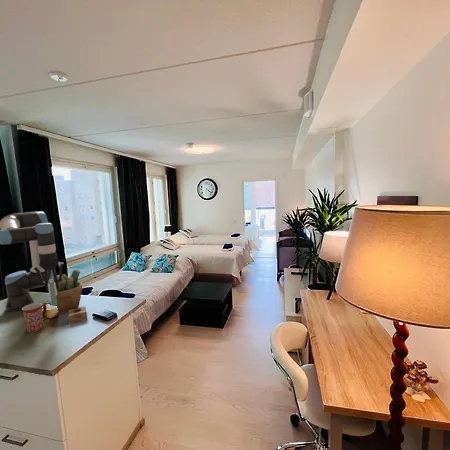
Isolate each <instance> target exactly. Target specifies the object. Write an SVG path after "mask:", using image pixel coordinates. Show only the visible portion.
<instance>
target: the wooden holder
mask: <svg viewBox="0 0 450 450" xmlns="http://www.w3.org/2000/svg"><path fill="white" fill-rule="evenodd" d="M87 320H88V314H87V307H86V305H85V306H79V307H78V308H76V309H72V310H69V313H68V322H69V323H68V324H69V325H72V324H76V323H80V322H85V321H87Z"/></svg>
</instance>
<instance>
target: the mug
mask: <svg viewBox="0 0 450 450" xmlns="http://www.w3.org/2000/svg"><path fill="white" fill-rule="evenodd" d="M21 311H22V313H23V318H24V322H25V326H26V331H27V332H28V333H36V332H38V331H41V330H43V328H44V319H45V316H46V313H47V305H46V304H45V303H41V302H34V303H33V304H29V305H27V306H25V307H23V308H22V309H21Z"/></svg>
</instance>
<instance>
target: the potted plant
mask: <svg viewBox="0 0 450 450" xmlns="http://www.w3.org/2000/svg"><path fill="white" fill-rule="evenodd" d="M80 273H81V270H78V269H74V270H72V272H71V275H70V276H69V277H68V275H66V274H65V273H62V281H60V282H58V285H59V288H58V289H57V296H56V298H57V305H55V306H57V308H58V310H57V312H58V313H59V314H69V310H72V309H76V308H80V302H81V296H82V291H83V283H82V282H81V281H78V280H79V276H80ZM57 279H59V274H58V275H57ZM55 306H54V307H55Z"/></svg>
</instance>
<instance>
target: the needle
mask: <svg viewBox="0 0 450 450" xmlns="http://www.w3.org/2000/svg"><path fill="white" fill-rule="evenodd" d="M48 281H49V285H50V291H51V297H50V301H51V306H52V307H55V305H57V298H56V296H55V290H54V283H55V280H54V279H51V280H48Z"/></svg>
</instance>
